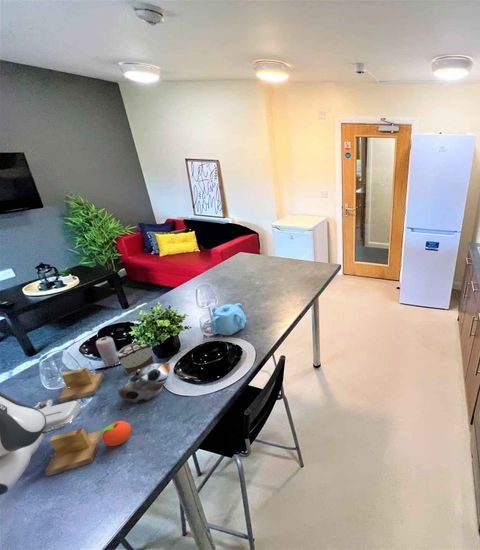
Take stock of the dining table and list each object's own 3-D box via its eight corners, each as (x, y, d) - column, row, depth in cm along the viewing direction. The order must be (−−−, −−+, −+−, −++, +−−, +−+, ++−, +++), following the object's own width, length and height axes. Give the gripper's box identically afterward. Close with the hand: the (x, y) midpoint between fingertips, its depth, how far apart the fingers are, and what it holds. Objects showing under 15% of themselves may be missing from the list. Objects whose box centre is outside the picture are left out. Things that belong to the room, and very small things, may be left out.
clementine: (100, 457, 87) (91, 441, 84) (104, 438, 92) (96, 423, 89) (133, 444, 91) (126, 429, 88) (135, 427, 96) (128, 412, 93)
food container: (152, 355, 128) (145, 337, 124) (157, 361, 125) (151, 342, 121) (117, 370, 119) (110, 351, 115) (123, 377, 116) (115, 357, 112)
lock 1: (58, 456, 85) (49, 440, 82) (60, 451, 86) (51, 435, 83) (89, 447, 88) (80, 432, 85) (90, 442, 89) (83, 427, 86)
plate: (57, 403, 104) (55, 398, 103) (69, 383, 112) (67, 379, 111) (97, 393, 108) (95, 389, 107) (105, 375, 116) (104, 371, 115)
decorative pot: (245, 336, 144) (242, 312, 138) (210, 340, 139) (205, 316, 134) (247, 318, 158) (244, 296, 152) (215, 322, 153) (211, 300, 148)
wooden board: (44, 477, 81) (41, 472, 80) (60, 446, 90) (57, 441, 89) (95, 461, 86) (92, 456, 85) (106, 433, 94) (103, 428, 93)
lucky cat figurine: (146, 375, 117) (158, 347, 115) (170, 390, 117) (183, 362, 114) (109, 395, 102) (122, 363, 100) (137, 412, 102) (151, 381, 100)
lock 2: (68, 389, 107) (60, 375, 104) (69, 386, 108) (62, 372, 106) (92, 383, 110) (85, 370, 107) (93, 380, 111) (87, 367, 108)
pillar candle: (120, 357, 126) (111, 334, 122) (122, 363, 123) (113, 340, 118) (104, 362, 123) (94, 339, 118) (105, 369, 120) (95, 345, 115)
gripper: (65, 418, 85) (83, 385, 97) (-35, 444, 77) (-3, 405, 88) (73, 432, 88) (90, 399, 99) (-23, 459, 80) (7, 419, 91)
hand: (46, 402), depth 94 cm, fingers closed
